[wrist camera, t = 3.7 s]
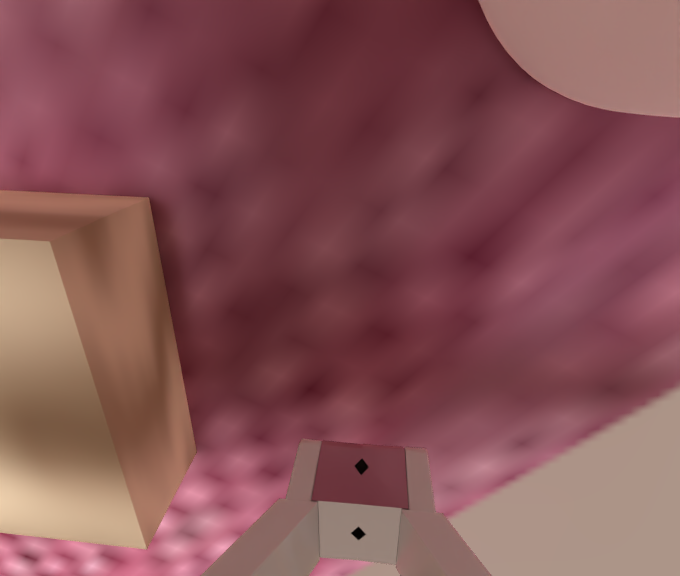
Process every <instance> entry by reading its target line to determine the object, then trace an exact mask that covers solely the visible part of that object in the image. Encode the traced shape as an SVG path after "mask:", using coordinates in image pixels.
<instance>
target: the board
mask: <svg viewBox="0 0 680 576" xmlns="http://www.w3.org/2000/svg"><path fill="white" fill-rule="evenodd" d="M196 453H197V451H196V445H195V440H194V435H193V429H192V424H191V419H190V413H189V408H188V403H187V397H186V392H185V387H184V381H183V376H182V371H181V366H180V360H179V355H178V350H177V344H176V339H175V334H174V328H173V323H172V318H171V312H170V307H169V302H168V296H167V291H166V286H165V280H164V275H163V270H162V264H161V259H160V254H159V248H158V243H157V238H156V232H155V227H154V222H153V217H152V211H151V206H150V201H149V197H129V196H110V195H90V194H70V193H50V192H30V191H10V190H0V532H1V533H9V534H18V535H27V536H35V537H44V538H53V539H61V540H70V541H79V542H87V543H96V544H105V545H113V546H122V547H131V548H139V549H147V548H148V546H149V544H150V542H151V540H152V538H153V536H154V535H155V533H156V531H157V529H158V527H159V525H160V523H161V521H162V519H163V517H164V515H165V513H166V511H167V509H168V507H169V505H170V503H171V501H172V500H173V498H174V496H175V494H176V492H177V490H178V488H179V486H180V484H181V482H182V480H183V478H184V476H185V474H186V472H187V470H188V468H189V466H190V464H191V463H192V461H193V459H194V457H195V455H196Z"/></svg>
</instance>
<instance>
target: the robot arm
mask: <svg viewBox="0 0 680 576" xmlns="http://www.w3.org/2000/svg"><path fill="white" fill-rule="evenodd" d="M319 557H322V558H336V559H350V560H361V561H368V562H376V563H384V564H391V565H396V568H397V570H398V572H399V574H400V576H491V574H490V573H489V572H488V570H487V569H486V568H485V567H484V565H483V564H482V563H481V562H480V560H479V559H478V558H477V556H476V555H475V554H474V553H473V551H472V550H471V549H470V548H469V546H468V545H467V544H466V542H465V541H464V540H463V539H462V537H461V536H460V535H459V534H458V532H457V531H456V530H455V528H454V527H453V526H452V525H451V523H450V522H449V521H448V520H447V518H446V517H445V516H444V514H443V513H436V511H435V503H434V496H433V488H432V481H431V473H430V466H429V459H428V452H427V450H426V448H415V447H402V446H387V445H372V444H354V443H344V442H334V441H325V440H323V441H321V440H311V439H301V441H300V443H299V446H298V450H297V454H296V458H295V462H294V466H293V470H292V475H291V479H290V483H289V487H288V491H287V495H286V499H278V500H277V501H276V502H275V503H274V504H273V505H272V506H271V507H270V508H269V509H268V510H267V511H266V512H265V513H264V514H263V515H262V516H261V517H260V518H259V519H258V520H257V521H256V522H255V523H254V524H253V525H252V526H251V527H250V528H249V529H248V530H247V531H246V532H245V533H244V534H243V535H242V536H241V537H240V538H238V539H237V540H236V541H235V542H234V543H233V544H232V545H231V546H230V547H229V548H228V549H227V550H226V551H225V552H224V553H223V554H222V555H221V556H220V557H219V558H218V559H217V560H216V561H215V562H214V563H213V564H212V565H211V566H210V567H209V568H208V569H207V570H206V571H205V572H204V573H203V574H202V575H201V576H309V575H310V573H311V572H312V570H313V569H314V567H315V566H316V565H317V563H318V562H319Z"/></svg>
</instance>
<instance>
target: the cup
mask: <svg viewBox="0 0 680 576" xmlns="http://www.w3.org/2000/svg"><path fill="white" fill-rule="evenodd" d="M478 1H479V3H480V6H481V8H482V10H483V13H484V15H485V17H486V20H487V21H488V23H489V25H490V27H491V29H492V30H493V32H494V34H495V36H496V37H497V39H498V40H499V42H500V43H501V44H502V46H503V47H504V49H505V50H506V51H507V53H508V54H509V55H510V56H511V57H512V58H513V59H514V61H515V62H516V63H517V64H518V65H519V66H520V67H521V68H522V69H523V70H524V71H526V72H527V73H528V74H529V75H530V76H531V77H533V78H534V79H535V80H537V81H538V82H540V83H541V84H543V85H544V86H546V87H547V88H549V89H551V90H553V91H555V92H557V93H559V94H560V95H562V96H564V97H567V98H569V99H571V100H574V101H577V102H579V103H582V104H585V105H588V106H592V107H596V108H601V109H605V110H610V111H616V112H623V113H632V114H641V115H651V116H663V117H677V118H680V0H478Z"/></svg>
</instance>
